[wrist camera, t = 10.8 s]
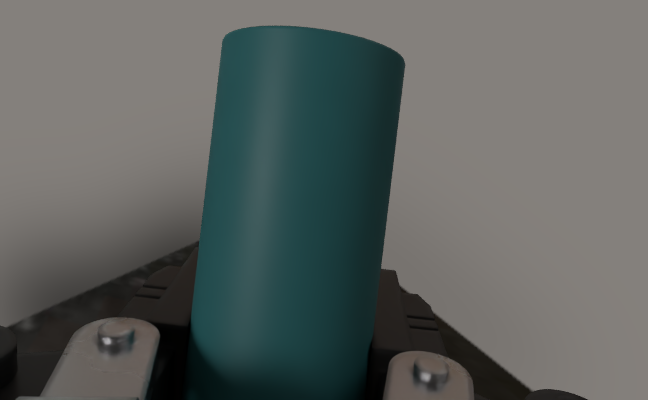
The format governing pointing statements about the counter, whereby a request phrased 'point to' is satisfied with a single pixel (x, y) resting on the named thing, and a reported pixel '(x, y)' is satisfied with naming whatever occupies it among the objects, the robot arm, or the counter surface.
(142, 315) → the robot arm
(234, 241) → the dish brush
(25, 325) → the counter surface
